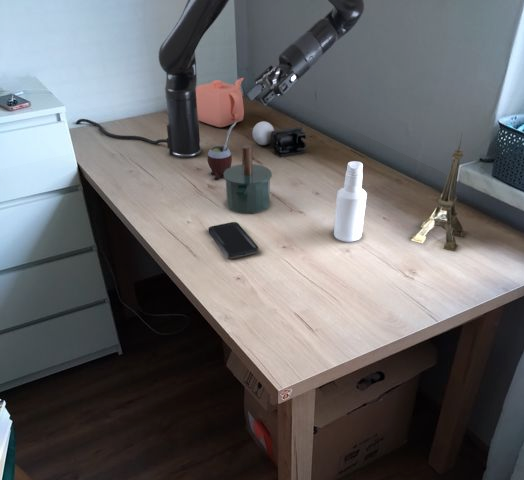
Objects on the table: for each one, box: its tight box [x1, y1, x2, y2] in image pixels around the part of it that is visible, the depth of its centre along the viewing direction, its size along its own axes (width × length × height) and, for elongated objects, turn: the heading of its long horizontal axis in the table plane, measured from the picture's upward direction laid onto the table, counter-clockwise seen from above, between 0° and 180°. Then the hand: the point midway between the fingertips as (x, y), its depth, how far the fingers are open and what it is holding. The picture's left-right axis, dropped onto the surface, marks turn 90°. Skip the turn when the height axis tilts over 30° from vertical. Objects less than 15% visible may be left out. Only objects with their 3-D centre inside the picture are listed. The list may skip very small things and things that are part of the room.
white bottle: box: [333, 160, 368, 243], centre depth 129 cm, size 7×7×18 cm
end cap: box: [270, 126, 307, 157], centre depth 175 cm, size 10×7×7 cm
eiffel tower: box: [410, 132, 467, 252], centre depth 126 cm, size 11×11×25 cm
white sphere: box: [250, 120, 275, 146], centre depth 181 cm, size 10×7×7 cm
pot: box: [225, 179, 271, 215], centre depth 146 cm, size 11×17×8 cm
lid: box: [223, 144, 273, 186], centre depth 141 cm, size 13×13×8 cm
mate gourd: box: [207, 121, 238, 181], centre depth 158 cm, size 8×8×15 cm
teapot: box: [196, 77, 245, 128], centre depth 197 cm, size 20×19×14 cm
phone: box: [208, 221, 259, 260], centre depth 132 cm, size 8×1×15 cm
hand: (255, 100), depth 142 cm, fingers open, 8 cm apart
